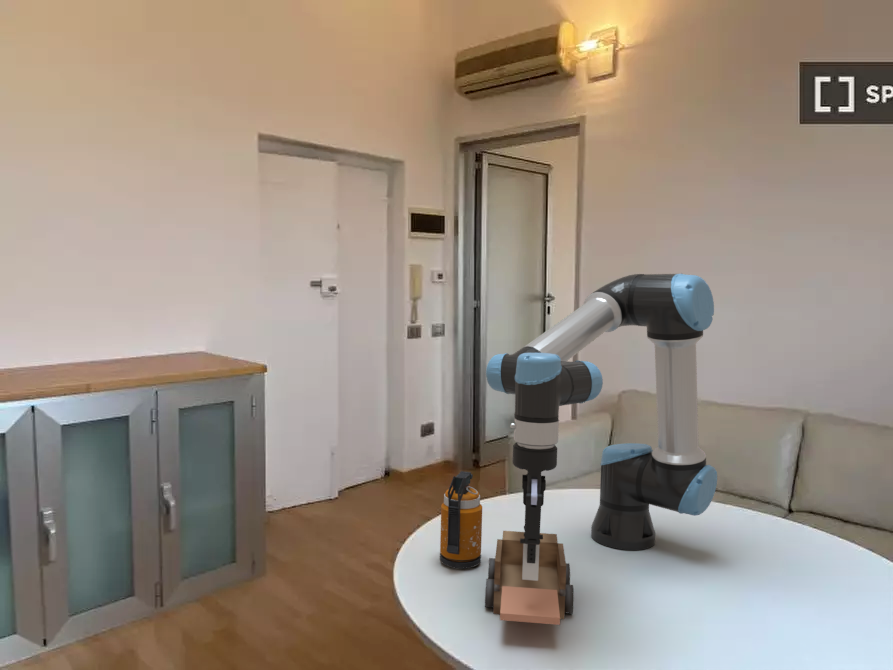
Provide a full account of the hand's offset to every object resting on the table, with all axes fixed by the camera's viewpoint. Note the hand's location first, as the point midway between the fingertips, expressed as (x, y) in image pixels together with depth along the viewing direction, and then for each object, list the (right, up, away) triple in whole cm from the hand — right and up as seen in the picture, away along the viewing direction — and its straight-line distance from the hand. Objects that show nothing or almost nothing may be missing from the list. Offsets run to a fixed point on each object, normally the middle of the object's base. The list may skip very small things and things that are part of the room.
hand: (530, 578), depth 117 cm
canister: (-12, -8, +30) cm, 34 cm away
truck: (+2, -9, +15) cm, 18 cm away
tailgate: (+1, -5, +7) cm, 9 cm away
